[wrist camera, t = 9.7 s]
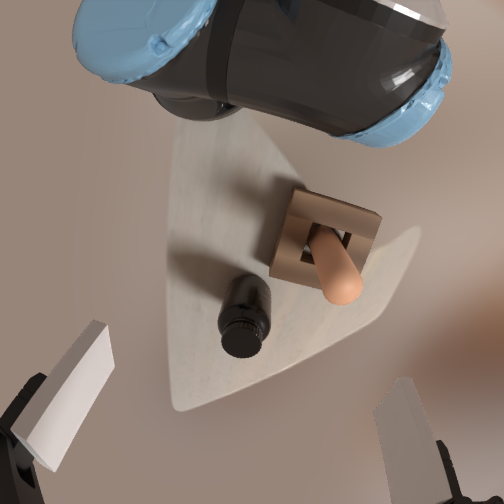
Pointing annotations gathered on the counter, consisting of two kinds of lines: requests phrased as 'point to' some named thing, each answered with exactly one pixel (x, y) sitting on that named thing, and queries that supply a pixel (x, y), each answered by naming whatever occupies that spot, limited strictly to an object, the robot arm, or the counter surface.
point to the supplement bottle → (245, 316)
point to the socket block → (326, 213)
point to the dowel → (334, 267)
